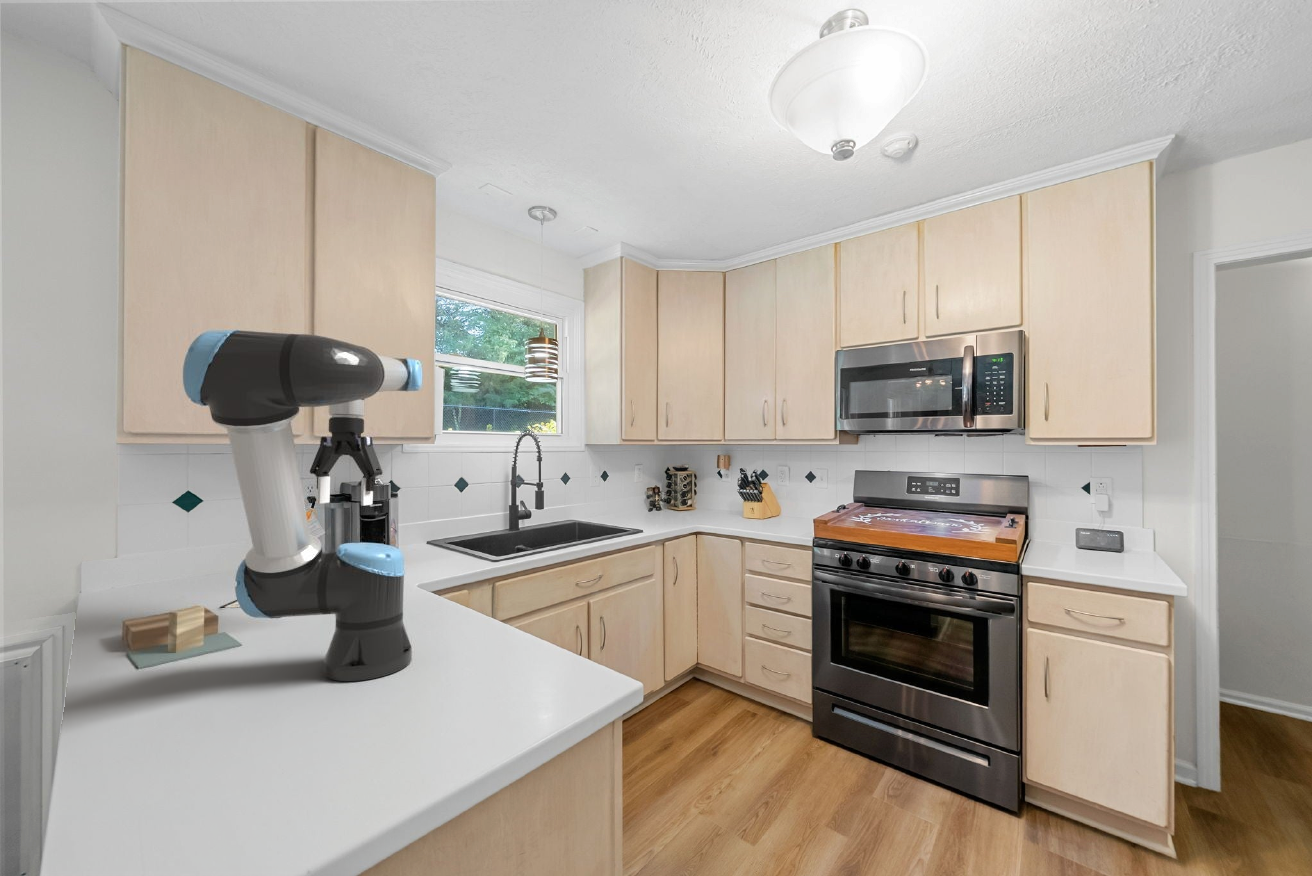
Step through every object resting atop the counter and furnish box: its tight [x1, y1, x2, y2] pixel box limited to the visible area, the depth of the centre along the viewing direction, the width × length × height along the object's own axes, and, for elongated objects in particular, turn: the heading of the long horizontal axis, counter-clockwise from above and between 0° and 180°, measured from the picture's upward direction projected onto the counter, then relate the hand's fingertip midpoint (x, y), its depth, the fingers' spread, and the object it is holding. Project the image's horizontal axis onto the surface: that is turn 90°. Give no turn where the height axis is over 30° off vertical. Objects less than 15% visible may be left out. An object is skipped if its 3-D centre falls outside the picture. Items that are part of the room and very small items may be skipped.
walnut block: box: [121, 606, 219, 651], centre depth 120 cm, size 12×14×4 cm
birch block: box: [168, 605, 205, 653], centre depth 112 cm, size 2×5×8 cm, turn 162°
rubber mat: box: [126, 631, 243, 670], centre depth 112 cm, size 12×16×1 cm
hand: (344, 504), depth 132 cm, fingers open, 13 cm apart
